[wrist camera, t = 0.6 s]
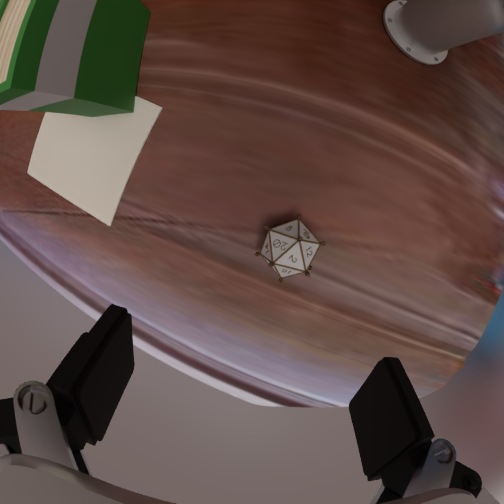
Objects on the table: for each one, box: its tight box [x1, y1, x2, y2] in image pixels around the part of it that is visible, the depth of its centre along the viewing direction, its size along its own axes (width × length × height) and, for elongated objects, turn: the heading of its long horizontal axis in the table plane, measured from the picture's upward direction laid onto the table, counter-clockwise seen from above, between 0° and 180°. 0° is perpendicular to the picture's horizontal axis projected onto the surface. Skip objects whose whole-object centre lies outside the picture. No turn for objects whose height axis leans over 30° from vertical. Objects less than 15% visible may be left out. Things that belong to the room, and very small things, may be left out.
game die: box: [254, 213, 327, 284], centre depth 36 cm, size 9×8×10 cm
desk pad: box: [27, 96, 163, 226], centre depth 34 cm, size 20×22×1 cm
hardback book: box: [0, 0, 150, 117], centre depth 18 cm, size 18×7×24 cm, turn 175°
